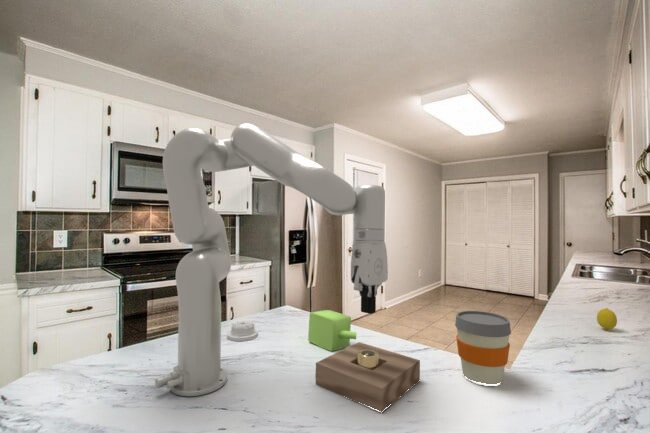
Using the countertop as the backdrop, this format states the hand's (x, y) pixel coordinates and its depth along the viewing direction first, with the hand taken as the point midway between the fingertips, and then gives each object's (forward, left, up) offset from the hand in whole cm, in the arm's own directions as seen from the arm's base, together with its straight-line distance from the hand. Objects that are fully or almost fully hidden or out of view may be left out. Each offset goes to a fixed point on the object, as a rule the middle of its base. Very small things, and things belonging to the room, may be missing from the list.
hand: (368, 312), depth 78 cm
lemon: (+90, -44, -17) cm, 102 cm away
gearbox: (+14, +22, -17) cm, 31 cm away
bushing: (0, 0, -17) cm, 17 cm away
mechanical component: (-1, +49, -17) cm, 52 cm away
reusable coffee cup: (+21, -20, -17) cm, 34 cm away
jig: (0, 0, -17) cm, 17 cm away
